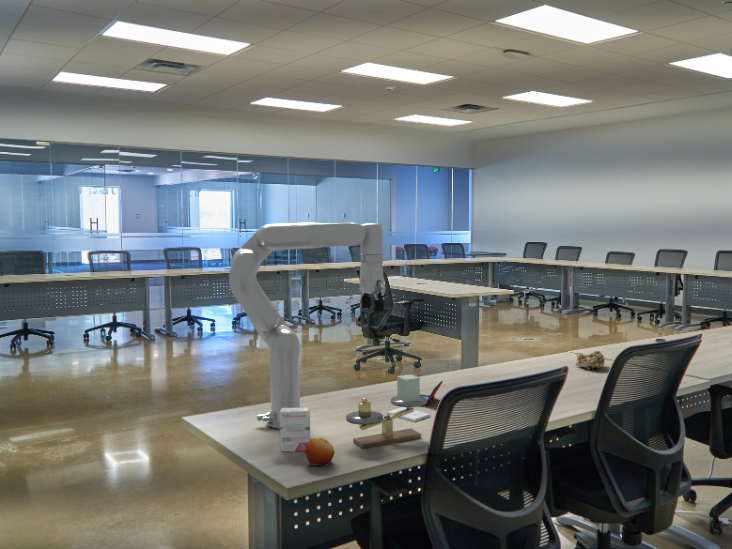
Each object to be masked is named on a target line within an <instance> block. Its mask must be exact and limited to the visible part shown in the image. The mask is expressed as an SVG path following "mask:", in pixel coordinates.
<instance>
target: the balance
mask: <svg viewBox="0 0 732 549" xmlns="http://www.w3.org/2000/svg"><path fill="white" fill-rule="evenodd" d="M426 403H427V399H426V398H425V397H422V396H420V400H419V401H413V402H406V403H405V402H403V401H401V400H399V399H397V395H396V396H392V397H391V398H390V404H392V405H393V406H396V407H398V408H401V407H405V408H406V409H405V410H402V411H399V412H396V413H393V414H391V415H387V414H385V415H384V414H383V413H380V412H379V411H373V410H371V409H372V407H371V404H372V403H371V401H368V399H367V398H366V397H362V399H361V401H359V402H358V403H357V404H358V410H357V411H352V412H349V413H347V414H346V416H345V420H346V422H347V423H349V424H351V425H353V424H354V425H359V429H360V430H361V431H364V430H368V429H370V428H372V427H375V426H378V425H381V433H378V434H372V435H371V434H370V435H365V436H360V437H354V438H352V441H353V442H352V443H354V444H355V445H356V446H357V447H359V448H360V449H368V448H372V447H373V448H374V447H379V446H382V445H383V444H384V445H389V444H388V443H390V444H394V442H395V443H399V442H405V441H410V440H415V439H416V438H417V439H420V438H421V439H422V433H420V432H419V431H417V430H415V429H413V428H412V427H411V428H405V429H399V430H393V429H394V424H393V422H394V420H395V419H397V418H398V417H401V416H403V415H406V414H409V413H412V412H414V410H415V409H414V408H416V407H417V408H418V407H422V406H423V405H425V404H426Z"/></svg>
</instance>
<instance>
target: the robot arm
mask: <svg viewBox="0 0 732 549" xmlns="http://www.w3.org/2000/svg"><path fill="white" fill-rule="evenodd" d="M383 232H384V231H383V225H382V224H381V223H377V222H375V223H374V222H371V223H369V222H368V223H367V222H366V223H362V224H360V223H358V222H355V221H354V222H332V223H331V222H329V223H327V222H326V223H323V222H322V223H320V222H293V223H292V222H291V223H288V222H286V223H268V224H264V225H262V226H260V227H259V229H258V230H256V231H255V233H254V234H252V235H251V237H249V239H248V240H247V241H246V242H245V243H243V245H242V246H240V248H238V250H236V251H235V252H234V254H233V256H232V260H231V263H232V264H231V267H230V269H229V273H228V275H229V276H228V280H229V282H228V284H229V287H230V290H231V292H232V294H233V296H234V298H235V299H236V300H237V302H238V303H239V305H240V307H241V308H242V310H243V311H244V312H245V314H246V315H247V318H248V321H249V322H250V323H251V325H252V326H253V328H254V329H255V331H256V332H257V333H258V335H259V336H260V337H261V339H262V340H263V342H264V343H265V344H266V346H267V347H268V348H269V351H270V352H269V356H270V357H269V358H270V359H269V378H270V382H269V384H270V409H268V412H266V413H264V414H263V413H261V414H257V415H256V421H257V422H260V421H262V422H263V423H264V422H266V426H267V425H268V427H269V426H270V427H269V428H271V427H272V429H275V428H277V429H278V430H280V421H279V412H280V410H281V408H301V404H300V403H301V400H300V398H301V397H300V396H301V395H300V394H301V393H300V390H301V389H300V388H301V387H300V352H301V344H300V340H299V336H298V335H297V333H296V332H295V331H294V330H292V329H291V328H290V327H289V325H288V324H287V322H286V321H285V320H284V318H283V316H281V314H280V312H279V310H278V308H277V306H275V304H274V303H273V302H272V301H271V300H270V299H269V296H268V295H267V294H266V293H265V291H264V290H263V288H262V287H261V285H260V284H259V282H258V279H257V273H258V271H259V270H260V267H261V263H262V262H264V261H265V260H266V258H268V257H269V255H270V254H271V253H272V252H273V251H281V250H282V251H284V250H303V249H304V250H308V249H310V250H311V249H320V248H328V247H332V248H333V247H349V246H350V247H351V246H352V247H354V246H359V245H360V267H359V279H358V280H359V285H358V287H359V292H360V297H361V309H363V310H366V309H370V308H371V296H370V295H371V294H373V296H374V301H373V303H374V305H373V309H374V312H375V313H378V312H380V313H381V312H384V311H385V310H384V309H385V308H384V305H385V304H384V303H385V302H384V300H385V295H386V293H385V292H386V288H387V287H386V286H385V285H384V284H385V283H384V282H385V281H384V280H385V279H384V270H383V269H384V268H383V264H384V251H383V250H384V245H383V243H384V241H383V236H384V234H383ZM277 429H276V430H277Z"/></svg>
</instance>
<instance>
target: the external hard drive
mask: <svg viewBox="0 0 732 549" xmlns="http://www.w3.org/2000/svg"><path fill="white" fill-rule="evenodd" d="M405 409H406V407H398V408H394V409H392V410H389V411H387V414H390V415H391V414H393V413H396V412H399V411H402V410H405ZM387 414H386V415H387ZM427 417H428V418H431V414H430V413H426V412H423V411H419V410H415V409H414V412H412V413H409V414H406V415H403V416H401V417H400V418H399V419H402V418H403V420H405V419H406V420H405V421H409V420H410V422H412V421H413V423H416V422H419V421H421V420H424V419H423V418H425V419H428V418H427ZM418 420H419V421H418Z"/></svg>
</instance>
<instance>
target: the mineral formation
mask: <svg viewBox="0 0 732 549" xmlns="http://www.w3.org/2000/svg"><path fill="white" fill-rule="evenodd" d="M576 357H577V358H576V359H575V360H576V363H575V364H574V365H575V366H576V367H577V366H578V367H581V368H585V369H586V370H587V371H588V370H591V369H592V370H594V369H595V368H596V369H597V370H598V369H600V368H603V367H604V365H605V361H606V358H605V355H604V354H602V352H601V351H600V350H594V351H593V352H591V353H589V354H587V355H584V354H583V353H581V352H577V353H576Z"/></svg>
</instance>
